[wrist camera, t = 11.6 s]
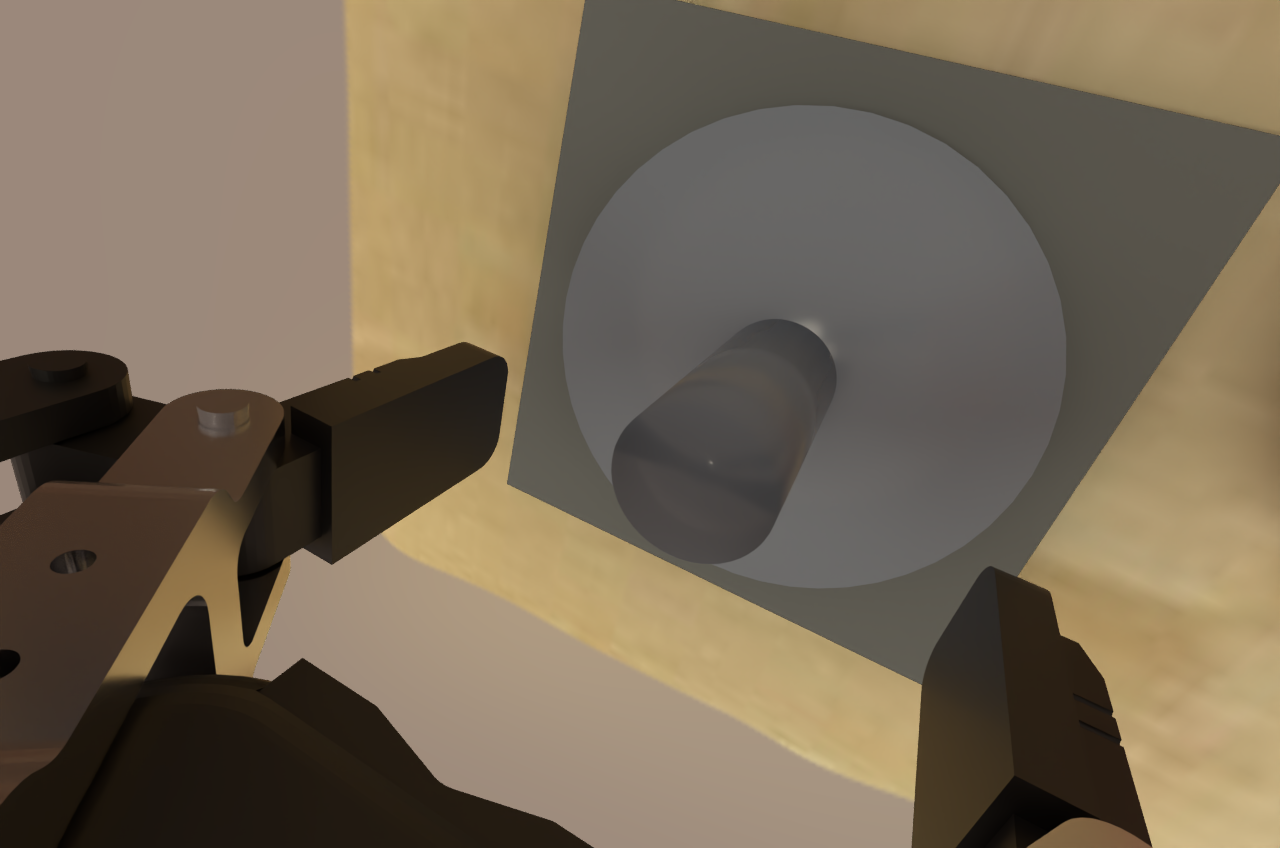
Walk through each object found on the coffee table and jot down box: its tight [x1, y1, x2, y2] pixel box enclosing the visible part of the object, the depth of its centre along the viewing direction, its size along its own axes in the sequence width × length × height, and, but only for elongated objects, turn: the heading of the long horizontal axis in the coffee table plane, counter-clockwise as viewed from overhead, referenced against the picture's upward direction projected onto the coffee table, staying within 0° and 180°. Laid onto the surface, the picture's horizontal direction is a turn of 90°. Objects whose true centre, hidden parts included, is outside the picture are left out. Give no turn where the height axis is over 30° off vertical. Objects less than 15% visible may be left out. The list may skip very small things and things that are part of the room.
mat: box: [507, 0, 1280, 685], centre depth 16 cm, size 14×14×1 cm
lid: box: [563, 105, 1066, 589], centre depth 13 cm, size 12×12×7 cm
